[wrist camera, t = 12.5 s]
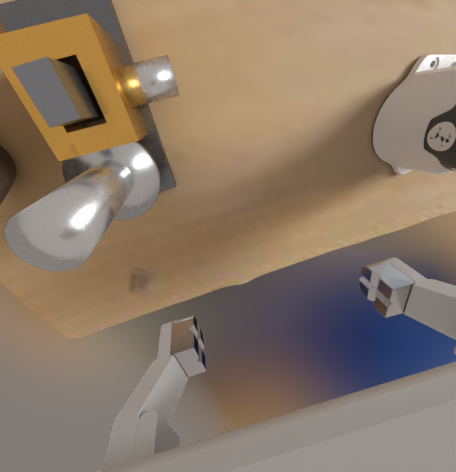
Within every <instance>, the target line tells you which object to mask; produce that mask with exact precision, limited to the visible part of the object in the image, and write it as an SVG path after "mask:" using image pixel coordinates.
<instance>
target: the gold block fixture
mask: <svg viewBox="0 0 456 472" xmlns="http://www.w3.org/2000/svg"><path fill="white" fill-rule="evenodd" d="M0 19H1V21H2V23H3V25H4V26H5V28H6V30H7V32H6V33H2V34H0V67H1V69H2V70H3V72H4V74H5V75H6V77H7V78H8V80H9V82H10V83H11V85H12V87H13V88H14V90H15V91H16V93H17V95H18V96H19V98H20V100H21V101H22V103H23V104H24V106H25V108H26V109H27V111H28V113H29V114H30V116H31V117H32V119H33V121H34V122H35V124H36V126H37V127H38V129H39V130H40V132H41V134H42V135H43V137H44V139H45V140H46V142H47V143H48V145H49V147H50V148H51V150H52V152H53V153H54V155H55V156H56V158H57V160H58V161H63V175H64V179H65V182H66V183H65V184H64V185H62V186H60V187H59V188H57V189H56V190H54V191H52V192H51V193H49V194H48V195H46V196H44V197H43V198H41V199H39V200H38V201H36V202H35V203H33V204H31V205H30V206H28V207H27V208H25V209H23V210H22V211H20V212H18V213H17V214H15V215H14V216H12V217H11V218H10V219H9V220H8V222H7V224H6V226H5V231H4V233H5V239H6V242H7V244H8V246H9V247H10V249H11V250H12V251H13V253H14V254H15V255H16V256H18V257H19V258H20V259H21V260H23V261H24V262H26V263H28V264H30V265H32V266H34V267H37V268H40V269H43V270H48V271H68V270H72V269H75V268H77V267H79V266H80V265H82V264H83V263H84V262H85V261H86V260H87V258H88V257H89V255H90V254H91V252H92V251H93V249H94V248H95V246H96V245H97V243H98V242H99V240H100V239H101V237H102V236H103V234H104V232H105V231H106V229H107V228H108V226H109V225H110V223H111V222H112V220H113V219H116V220H125V219H132V218H135V217H138V216H140V215H142V214H144V213H145V212H147V211H148V210H149V209H150V208H151V207H152V205H153V204H154V202H155V201H156V199H157V196H158V193H159V191H163V190H166V189H170V188H174V187H176V182H175V179H174V176H173V173H172V171H171V168H170V165H169V162H168V159H167V157H166V154H165V151H164V148H163V145H162V142H161V140H160V137H159V134H158V131H157V128H156V125H155V123H154V120H153V117H152V114H151V111H150V109H149V106H148V103H151V102H155V101H159V100H163V99H167V98H170V97H174V96H178V95H179V92H178V88H177V84H176V81H175V77H174V74H173V70H172V67H171V63H170V60H169V56H168V55H165V56H161V57H157V58H153V59H149V60H145V61H141V62H137V63H133V60H132V58H131V55H130V52H129V49H128V46H127V44H126V41H125V38H124V35H123V32H122V29H121V27H120V24H119V21H118V18H117V15H116V12H115V10H114V7H113V4H112V1H111V0H16V1H12V2H7V3H3V4H0ZM44 57H49V58H52V59H55V60H57V61H60V62H63V63H65V64H68V65H71V66H73V67H76V68H79V69H81V70H83V71H84V73H85V76H86V78H87V80H88V82H89V84H90V87H91V89H92V91H93V93H94V95H95V97H96V100H97V102H98V104H99V106H100V108H101V111H102V113H103V115H104V117H105V119H102V120H98V121H94V122H87V123H80V124H73V125H65V126H58V127H51V128H49V127H48V125H47V123H46V122H45V120H44V119H43V117H42V116H41V114H40V112H39V111H38V109H37V108H36V106H35V105H34V103H33V101H32V100H31V98H30V97H29V95H28V94H27V92H26V90H25V89H24V87H23V86H22V84H21V83H20V81H19V79H18V78H17V76H16V75H15V73H14V72H13V70H12V67H15V66H18V65H21V64H25V63H28V62H31V61H34V60H37V59H41V58H44Z"/></svg>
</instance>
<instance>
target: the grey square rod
mask: <svg viewBox="0 0 456 472" xmlns="http://www.w3.org/2000/svg"><path fill="white" fill-rule="evenodd" d="M12 70H13V72H14V73H15V75H16V76H17V78H18V79H19V81H20V83H21V84H22V86H23V87H24V89H25V90H26V92H27V94H28V95H29V97H30V98H31V100H32V101H33V103H34V105H35V106H36V108H37V109H38V111H39V112H40V114H41V116H42V117H43V119H44V120H45V122H46V123H47V125H48V127H49V128H51V127H58V126H65V125H73V124H80V123H87V122H94V121H98V120H102V119H105V117H104V115H103V113H102V111H101V108H100V106H99V104H98V102H97V100H96V97H95V95H94V93H93V91H92V89H91V87H90V84H89V82H88V80H87V78H86V76H85V73H84V71H83V70H81V69H79V68H76V67H73V66H71V65H68V64H65V63H63V62H60V61H57V60H55V59H52V58H49V57H44V58H41V59H37V60H34V61H31V62H28V63H25V64H21V65H18V66H15V67H12Z"/></svg>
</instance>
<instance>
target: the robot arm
mask: <svg viewBox="0 0 456 472" xmlns="http://www.w3.org/2000/svg"><path fill="white" fill-rule="evenodd" d="M430 64H431V66H430ZM373 145H374V149H375V152H376V154H377V155H378V157H379V158H380V159H381V160H383V161H385V162H387V163H389V164H390V165H391V166H392V168H393V170H394V171H395V173H397V174H401V175H403V174H406V173H408V172H410V171H412V170H413V171H418V172H423V173H429V174H435V175H442V174H443V173H446V172H448V171H451V170H453V171H456V55H453V54H429V55H423V56H421V57H420V58H419V59H418V60H417V62H416V63H415V65H414V66H413V68H412V69H411V71H410V73H409V74H408V76H407V77H406V79H405V80H404V81H403V82H402V83H401V84H400V85H399V86H398V87H397V88H396V89H395V90H394V91H393V92H392V93H391V94H390V96H389V97H388V98H387V100H386V101H385V103H384V104H383V106H382V108H381V110H380V112H379V114H378V116H377V119H376V122H375V125H374V130H373ZM360 273H361V274H362V275H363V276H362V277H361V278H360V280H359V287H360V290H361V292H362V293H363V295H364V296H365V297H366V298H367V299H369V300H371V301H374V306H375V307H376V308H377V309H378V310H379V312H380V313H381V314H382V315H383V316H384V317H390V316H394V315H397V314H401V313H404V314H405V315H407V316H409V317H411V318H413V319H415V320H418V321H419V322H421V323H423V324H425V325H427V326H429V327H431V328H433V329H435V330H437V331H439V332H441V333H443V334H445V335H447V336H449V337H451V338H453V339H455V340H456V286H454V285H451V284H447V283H444V282H440V281H437V280H434V279H429V280H428V279H426V278H425V277H423V276H422V275H420V274H419V273H418V272H416V271H415V270H413V269H412V268H411V267H409V266H408V265H406V264H405V263H403V262H402V261H400V260H399V259H397V258H391V259H387V260H384V261H380V262H376V263H373V264H370V265H367V266H363V267H362V268H361V272H360ZM203 349H204V338H203V333H202V330H201V328H200V326H198V325H197V319H196V317H195V316H191V317H188V318H184V319H180V320H176V321H173V322H169V323H165V324H162V326H161V330H160V338H159V348H158V356H157V360H154V361H153V362H152V364H151V365H150V367H149V369H148V370H147V372H146V373H145V375H144V376H143V378H142V379H141V381H140V382H139V384H138V385H137V387H136V389H135V390H134V391H133V393H132V395H131V396H130V398H129V399H128V401H127V402H126V404H125V405H124V407H123V408H122V410H121V411H120V413H119V414H118V416H117V417H116V419H115V420H114V424H113V429H112V433H111V437H110V441H109V446H108V450H107V454H106V459H105V463H104V467H103V470H102V471H98V472H456V362H453V363H450V364H446V365H443V366H440V367H437V368H433V369H430V370H427V371H423V372H420V373H417V374H414V375H411V376H407V377H404V378H401V379H397V380H394V381H391V382H388V383H385V384H381V385H378V386H375V387H372V388H368V389H365V390H362V391H358V392H355V393H352V394H349V395H345V396H342V397H339V398H336V399H332V400H329V401H326V402H323V403H319V404H316V405H313V406H309V407H306V408H303V409H300V410H297V411H294V412H290V413H287V414H283V415H280V416H277V417H274V418H270V419H268V420H264V421H261V422H258V423H254V424H251V425H248V426H244V427H242V428H238V429H235V430H232V431H228V432H225V433H222V434H219V435H215V436H212V437H209V438H206V439H202V440H199V441H196V442H193V443H189V444H186V445H183V446H180V437H179V435H178V434H177V433H176V432H175V431H174V430H173V429H172V428H171V427H170V426H169V423H170V420H171V418H172V416H173V414H174V411H175V409H176V406H177V404H178V402H179V399H180V397H181V394H182V392H183V389H184V387H185V385H186V382H187V380H188V377H190V376H193V375H196V374H199V373H202V372H205V371H206V359H205V355H204V352H203V351H202V350H203ZM454 353H455V354H456V347H455V348H454Z"/></svg>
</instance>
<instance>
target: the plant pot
mask: <svg viewBox="0 0 456 472" xmlns="http://www.w3.org/2000/svg"><path fill="white" fill-rule="evenodd" d="M15 176H16V167H15V164H14V162H13V160H12V158H11V157H10V155H9V154H8V153H7V152H6V151H5V150H4V149H3V148H2V147H1V146H0V204H1V202H2V201H3V199H4V198H5V196H6V195H7V193H8V191H9V190H10V188H11V186H12V184H13V181H14V179H15Z"/></svg>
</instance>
